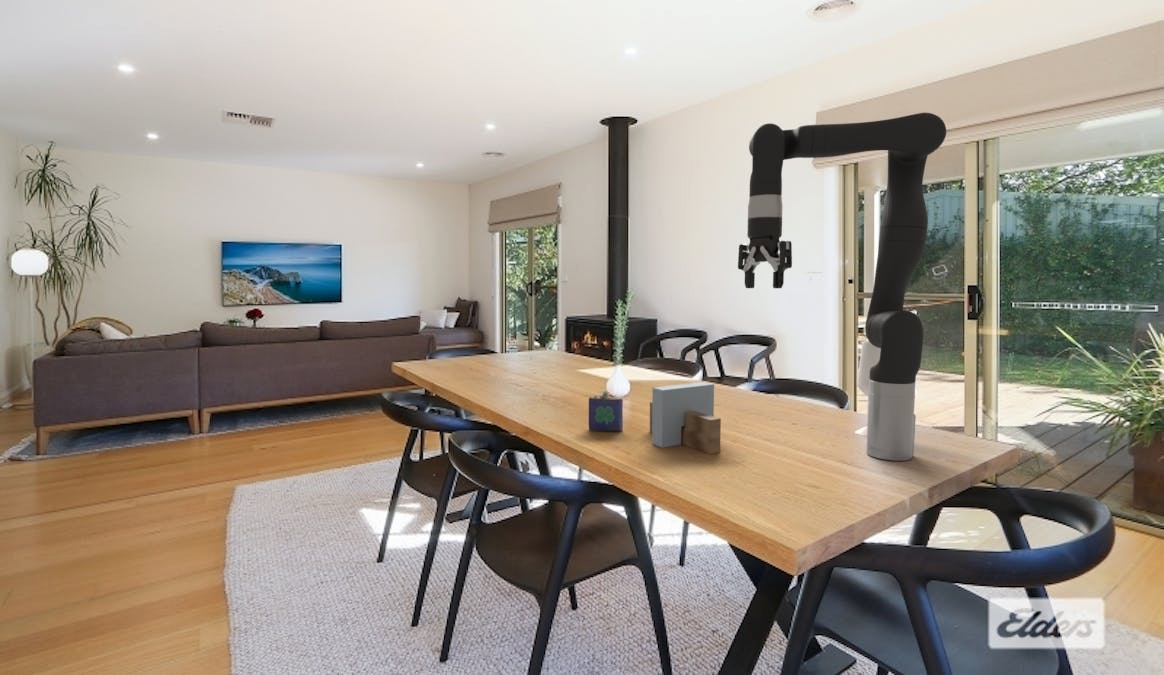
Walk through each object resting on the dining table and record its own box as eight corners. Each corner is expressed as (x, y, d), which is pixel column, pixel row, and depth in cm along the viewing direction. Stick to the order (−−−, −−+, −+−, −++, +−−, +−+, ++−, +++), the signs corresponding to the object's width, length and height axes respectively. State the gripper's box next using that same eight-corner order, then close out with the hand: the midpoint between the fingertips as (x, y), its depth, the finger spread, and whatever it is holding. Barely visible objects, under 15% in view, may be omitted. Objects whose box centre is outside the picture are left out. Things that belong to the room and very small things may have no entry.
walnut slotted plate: (649, 431, 158) (649, 402, 158) (658, 430, 160) (659, 400, 159) (710, 454, 137) (710, 420, 137) (720, 452, 139) (720, 418, 138)
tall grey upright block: (652, 443, 146) (652, 387, 145) (702, 435, 154) (703, 382, 153) (661, 447, 143) (662, 390, 142) (713, 439, 151) (714, 384, 149)
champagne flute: (872, 429, 159) (876, 340, 157) (889, 436, 153) (893, 343, 150) (849, 430, 158) (852, 340, 156) (864, 437, 152) (868, 343, 150)
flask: (623, 429, 161) (623, 390, 160) (622, 432, 158) (621, 392, 157) (589, 428, 162) (589, 389, 161) (587, 431, 159) (587, 391, 158)
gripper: (801, 214, 131) (799, 288, 133) (754, 220, 144) (752, 288, 145) (777, 212, 128) (775, 288, 129) (730, 219, 140) (729, 288, 142)
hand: (763, 288), depth 137 cm, fingers open, 8 cm apart
